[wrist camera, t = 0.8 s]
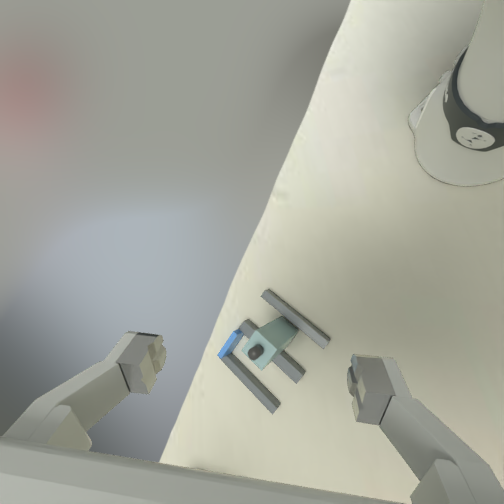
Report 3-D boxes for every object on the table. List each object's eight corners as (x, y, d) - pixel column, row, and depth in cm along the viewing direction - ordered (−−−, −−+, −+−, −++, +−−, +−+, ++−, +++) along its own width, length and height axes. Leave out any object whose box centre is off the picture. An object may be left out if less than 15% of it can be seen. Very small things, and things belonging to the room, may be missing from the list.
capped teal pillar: (281, 316, 47) (249, 332, 34) (298, 330, 45) (272, 353, 33) (270, 332, 48) (234, 354, 35) (286, 347, 46) (255, 376, 33)
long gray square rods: (268, 289, 48) (260, 290, 45) (330, 339, 43) (326, 345, 39) (224, 354, 51) (213, 360, 48) (276, 408, 46) (268, 420, 42)
